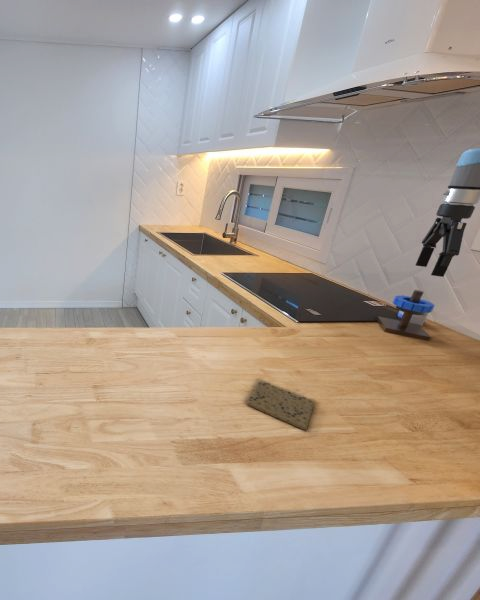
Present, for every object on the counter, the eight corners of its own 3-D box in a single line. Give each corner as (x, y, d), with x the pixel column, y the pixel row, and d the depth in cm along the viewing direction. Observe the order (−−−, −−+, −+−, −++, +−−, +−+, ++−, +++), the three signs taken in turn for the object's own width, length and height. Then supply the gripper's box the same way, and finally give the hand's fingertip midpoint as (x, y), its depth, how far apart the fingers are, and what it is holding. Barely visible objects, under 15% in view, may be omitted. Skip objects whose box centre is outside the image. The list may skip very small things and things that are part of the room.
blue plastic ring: (425, 305, 120) (428, 299, 119) (435, 315, 112) (439, 308, 111) (389, 299, 124) (392, 293, 123) (397, 308, 116) (400, 301, 115)
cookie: (245, 404, 77) (246, 401, 76) (259, 381, 85) (260, 378, 85) (306, 431, 70) (307, 427, 69) (314, 403, 78) (315, 400, 78)
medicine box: (396, 316, 134) (405, 295, 131) (409, 317, 133) (419, 297, 130) (408, 324, 127) (418, 303, 123) (422, 326, 126) (433, 304, 122)
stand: (416, 328, 124) (435, 290, 118) (428, 341, 114) (449, 300, 108) (376, 319, 129) (392, 282, 123) (384, 331, 119) (401, 292, 113)
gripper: (426, 200, 114) (401, 260, 122) (460, 206, 94) (428, 278, 102) (455, 202, 111) (428, 264, 119) (498, 208, 91) (462, 282, 98)
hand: (428, 270), depth 110 cm, fingers open, 13 cm apart
